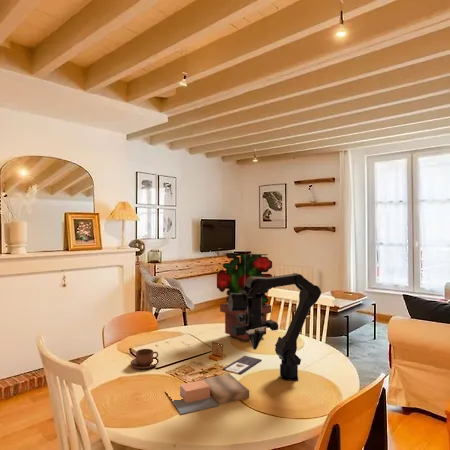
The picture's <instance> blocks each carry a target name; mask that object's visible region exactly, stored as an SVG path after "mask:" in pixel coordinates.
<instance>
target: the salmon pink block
mask: <svg viewBox="0 0 450 450" xmlns="http://www.w3.org/2000/svg"><path fill="white" fill-rule="evenodd" d="M179 388H180V396H181V397H182V398H183V400H184V401H185V402H186V403H188V402H193V401H197V400H202V399H206V398H210V386H209V385H208V384H207V383H206V382H205V381H204V380H197V381H191V382H186V383H182V384H180V387H179Z"/></svg>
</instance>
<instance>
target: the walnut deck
mask: <svg viewBox="0 0 450 450" xmlns="http://www.w3.org/2000/svg"><path fill="white" fill-rule="evenodd" d="M201 380H204V381H205V382H206V383H207V384H208V385H209V386H210V396H211V397H212V398H213V399H214V400H215V402H216V403H217V404H218V405H222V404H227V403H230V402H235V401H239V400H240V401H241V400H244V399H247V398H246V397H248V398H250V390H249V388H247V387H246V386H244V385H243V384H242V383H241V382H240V380H238V379H236V378H235V377H234V376H233V375H232V374H231V373H226V374H222V375H221V374H220V375H216V376H212V377H205V378H201ZM201 380H200V381H201ZM243 398H244V399H243Z"/></svg>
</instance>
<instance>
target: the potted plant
mask: <svg viewBox="0 0 450 450" xmlns="http://www.w3.org/2000/svg"><path fill="white" fill-rule="evenodd" d="M239 256H240V257H239ZM267 256H268V254H267V253H266V254H264V253H259V254H258V253H257V254H256V253H250V254H249V253H226V258H228V259H231V260H230V262H225V263H223V264H222V267H223V269H221V270H219V272H218V273H217V272H216V289H218V290H219V291H220V292H221V293H223V292H225V290H226V289H227V291H226V295H227V296H228V297H226V302H225V303H220V304H219V312H221V313H224V328H225V329H224V333H225V334H227V335H230V338H232V339H235V340H237V341H240V342H242V343H243V342H244V343H247V342H251V341H250V339H249V337H248V335H247V334H246V333H245V335H240V336H236V335H235V334H233V333H231V332H230V327H231V326H232V325H235V324H241V322H237V319H236V315H237V314H238V313H242V314H243V315H245V312H246V311H247V309H245V310H244V311H232V312H230V311H229V308H228V299H229V297H230V293H240V291H241V290H242V288H243V287H244V286H245V284H246V280H247V279H248V278H249V277H251V276H255V277H275V276H276V275H275V274H273V275H272V274H271V273H268V272H269V270H270V269H272V268H273V262H272V260H270V259H269V257H267ZM224 269H225V270H226V271H225V270H224ZM228 289H229V290H228ZM271 289H272V288H270V289H268V290H266V291H264V294H265V295H266V294H267V293H268V292H269V291H270V290H271ZM273 289H276V287H273ZM249 291H250V290H249ZM268 303H269V299H268V297H267V298H262V312H263V313H264V316H262V323H263V321H265V320H267V314H271V313H272V305H271V304H268ZM241 325H243V326H247V325H245V324H241ZM264 331H265V332H266V333H267V328H264ZM264 335H266V334H264ZM264 335H263V336H264Z"/></svg>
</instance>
